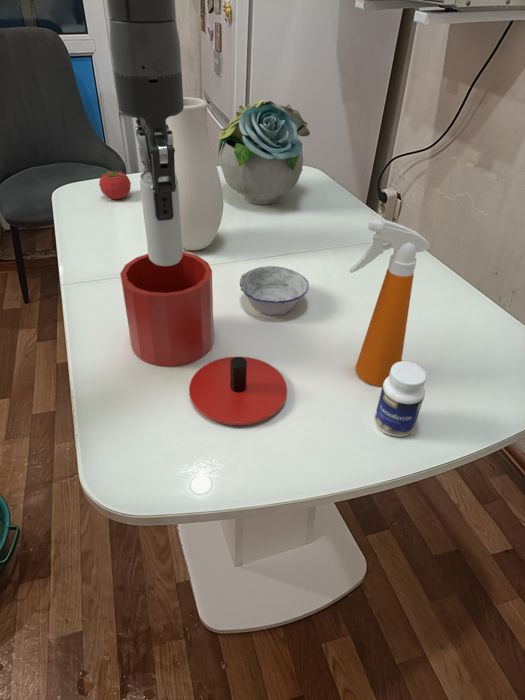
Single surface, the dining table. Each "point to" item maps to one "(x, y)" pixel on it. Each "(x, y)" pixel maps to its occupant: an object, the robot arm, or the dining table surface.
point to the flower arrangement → (263, 151)
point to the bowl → (273, 289)
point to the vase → (196, 175)
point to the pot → (169, 309)
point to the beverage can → (161, 226)
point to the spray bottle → (389, 299)
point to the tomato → (115, 184)
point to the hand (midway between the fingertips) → (161, 210)
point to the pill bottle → (401, 399)
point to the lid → (238, 390)
